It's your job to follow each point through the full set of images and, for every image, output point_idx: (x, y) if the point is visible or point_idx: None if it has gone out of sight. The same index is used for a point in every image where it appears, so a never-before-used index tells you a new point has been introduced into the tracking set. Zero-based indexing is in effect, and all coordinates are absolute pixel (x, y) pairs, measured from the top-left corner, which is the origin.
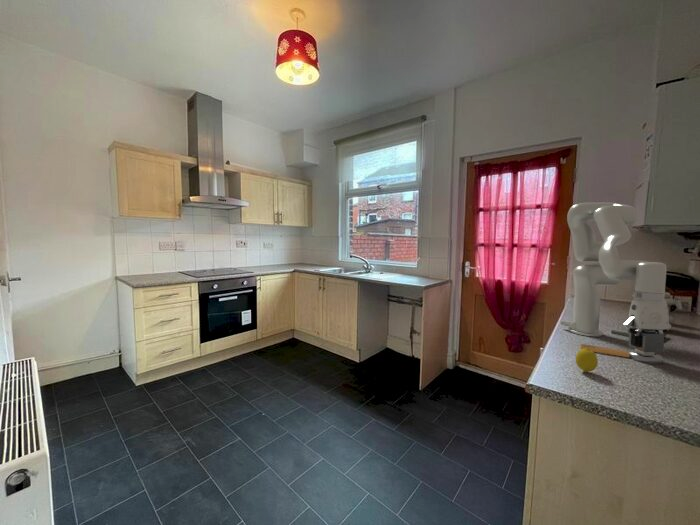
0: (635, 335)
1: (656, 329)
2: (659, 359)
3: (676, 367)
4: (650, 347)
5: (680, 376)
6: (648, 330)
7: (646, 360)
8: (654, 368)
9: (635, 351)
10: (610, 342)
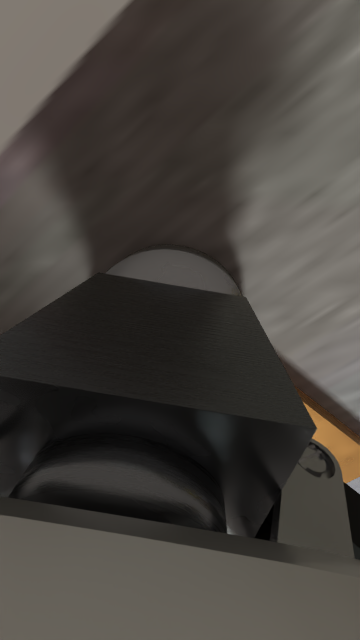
0: (319, 453)
1: (28, 510)
2: (155, 249)
3: (99, 186)
4: (200, 304)
5: (246, 7)
6: (187, 510)
7: (224, 271)
8: (267, 185)
9: None
10: None
